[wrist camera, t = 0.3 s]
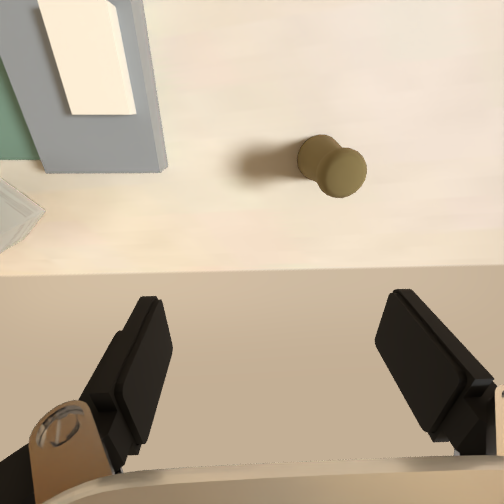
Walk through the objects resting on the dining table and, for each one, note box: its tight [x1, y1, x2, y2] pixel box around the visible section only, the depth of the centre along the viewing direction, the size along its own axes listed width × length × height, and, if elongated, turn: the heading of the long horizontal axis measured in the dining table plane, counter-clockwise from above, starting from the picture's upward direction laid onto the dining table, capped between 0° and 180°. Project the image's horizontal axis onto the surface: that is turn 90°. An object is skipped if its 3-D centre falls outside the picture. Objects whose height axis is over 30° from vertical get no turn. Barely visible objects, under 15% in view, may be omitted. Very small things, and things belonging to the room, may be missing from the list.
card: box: [37, 0, 136, 115], centre depth 26 cm, size 9×6×2 cm, turn 0°
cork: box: [297, 135, 367, 198], centre depth 31 cm, size 6×6×11 cm
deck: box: [0, 0, 168, 173], centre depth 28 cm, size 22×14×4 cm, turn 0°
